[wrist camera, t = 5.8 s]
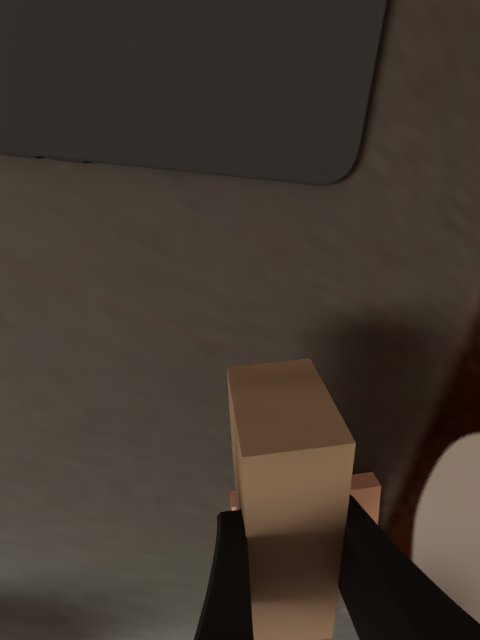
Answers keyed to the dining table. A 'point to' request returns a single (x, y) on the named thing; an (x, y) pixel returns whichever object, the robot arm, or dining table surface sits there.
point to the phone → (190, 84)
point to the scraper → (290, 494)
